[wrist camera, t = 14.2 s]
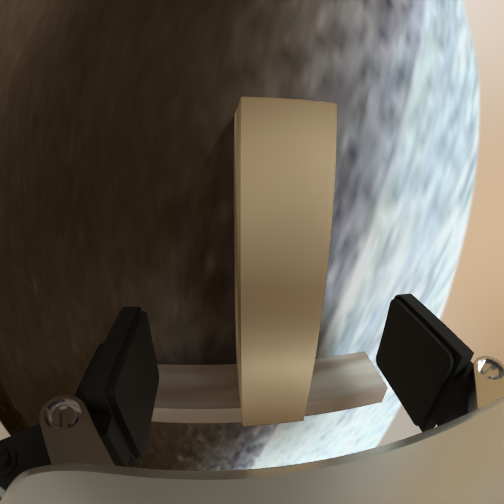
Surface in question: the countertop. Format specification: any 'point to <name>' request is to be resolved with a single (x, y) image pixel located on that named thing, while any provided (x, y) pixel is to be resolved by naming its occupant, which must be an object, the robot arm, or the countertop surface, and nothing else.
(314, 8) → the countertop surface
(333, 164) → the dough scraper
